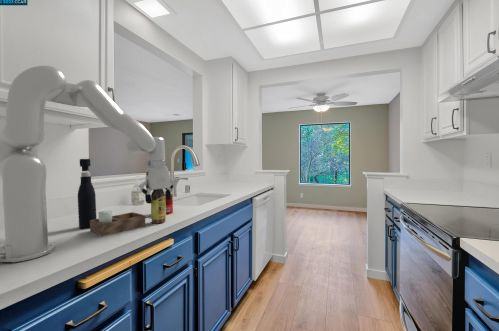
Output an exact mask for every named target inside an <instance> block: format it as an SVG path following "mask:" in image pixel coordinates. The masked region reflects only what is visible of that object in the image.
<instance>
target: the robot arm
mask: <svg viewBox="0 0 499 331" xmlns="http://www.w3.org/2000/svg"><path fill="white" fill-rule="evenodd" d="M46 102H50V103H54V104H61V105H66V106H70V107H71V106H72V107H78V108H87V109H88V110H90V111H91V112H92V114H94V115H95V116H96V117H97V118H98V119H99V120H100V122H101V123H103V124H104V125H105V126H106V127H110V128H111V129H114V130H117V131H119V132H121V133H123V134H125V135H126V136H127V137H129V138H128V140H127V141H126V144H125V147H126V149H127V150H128V152H130V153H132V154H136V155H138V154H147V161H146V162H144V164H145V166H147V168H146V170H145V171H146V172H145V180H144V181H143V182H142V183H141V184H139V185H138V188H139V189H140V192H142V193H143V194H144V198H145V202H146V204H150V205H151V194H152V192H153V190H157V189H163V190H164V189H165V191H164V192H165V196H166V199H167V200H170V199H171V192H172V191H173V188H174V186H175V183H176V182H175V180H172V179H171V176H170V172H169V167H168V166H167V164H166V147H165V145H166V144H165V138H164V137H160V136H153V135H152V133H150V132H149V130H147V128H146V127H145V126H144V125H143V124H142V123H141V122H140V121H138V120H137V119H135V118H133V117H132V116H131V115H129V114H127V113H126V112H125V111H123V110H122V108H120V107H119V105H118V104H117V103H116V102H115V100H113V99H112V97H111V96H109V95H108V93H107V92H106V91H105V90H104V89H103V88H102V87H101V86H100V85H99V84H98V83H97V82H95V81H94V80H92V79H91V80H89V79H84V80H81V81H80V82H77V83H76V84H75V83H70V82H67V78H66V76H65V74H64V73H63V72H62V71H61V70H60V69H59V68H56V67H54V66H51V65H38V66H33V67H29V68H27V69H26V68H25V70H23V71H21V73H19V74H17V76H16V77H14V79H13V81H12V82H11V84H10V86H9V89H8V92H7V99H6V109H5V122H4V125H3V126H2V127H1V129H0V176H1V177H2V206H3V218H4V219H3V220H4V237H5V241H4V242H3V243H2V245H1V246H0V263H2V262H12V263H18V262H24V261H28V260H33V259H36V258H40V257H43V256H45V255H48V254H50V253H52V252H53V251H54V250H55V248H56V245H55V244H53V243H49V235H48V234H49V232H48V213H47V197H46V196H47V195H46V191H47V190H46V186H47V167H46V164H45V162H44V161H43V159H42V158H40V157H39V146H40V145H41V144H42V143H43V141H44V139H45V110H46Z"/></svg>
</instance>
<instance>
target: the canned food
mask: <svg viewBox="0 0 499 331" xmlns="http://www.w3.org/2000/svg"><path fill="white" fill-rule="evenodd" d="M165 192H166V191H164V194H165ZM173 200H174V198H173V192H172V191H171V199H170V200H167V199H166V196H165V203H166V216H167V215H172V214H173V213H174V205H173V204H174V202H173Z"/></svg>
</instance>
